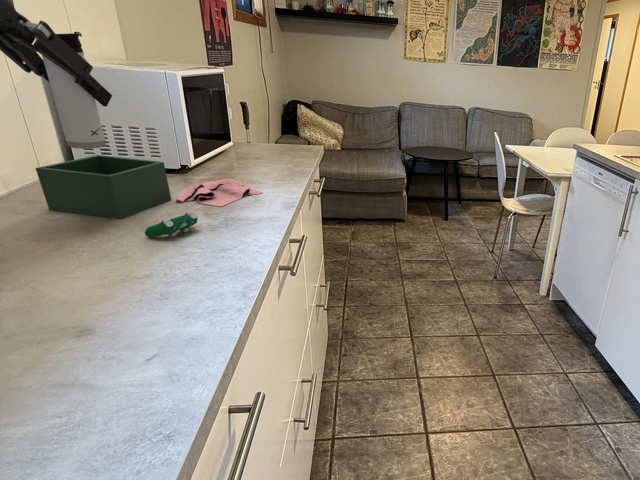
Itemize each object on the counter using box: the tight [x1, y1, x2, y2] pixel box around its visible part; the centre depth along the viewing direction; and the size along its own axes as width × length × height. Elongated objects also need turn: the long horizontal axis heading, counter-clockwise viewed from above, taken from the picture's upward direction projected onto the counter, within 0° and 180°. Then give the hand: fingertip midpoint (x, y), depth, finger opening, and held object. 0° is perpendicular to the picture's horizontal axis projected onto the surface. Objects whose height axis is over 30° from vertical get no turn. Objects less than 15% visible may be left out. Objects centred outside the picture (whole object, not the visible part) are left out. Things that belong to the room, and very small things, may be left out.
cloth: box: [175, 178, 264, 208], centre depth 120 cm, size 20×22×2 cm
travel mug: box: [41, 31, 107, 150], centre depth 89 cm, size 6×7×20 cm
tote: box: [35, 154, 172, 220], centre depth 106 cm, size 17×16×9 cm
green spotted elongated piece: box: [144, 209, 198, 238], centre depth 94 cm, size 9×4×6 cm
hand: (92, 99), depth 93 cm, fingers closed on travel mug, 6 cm apart
